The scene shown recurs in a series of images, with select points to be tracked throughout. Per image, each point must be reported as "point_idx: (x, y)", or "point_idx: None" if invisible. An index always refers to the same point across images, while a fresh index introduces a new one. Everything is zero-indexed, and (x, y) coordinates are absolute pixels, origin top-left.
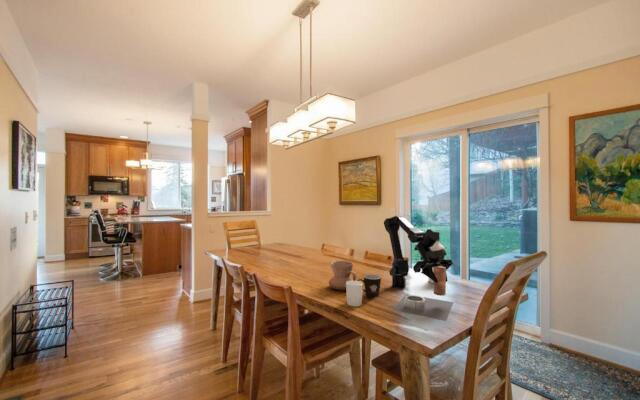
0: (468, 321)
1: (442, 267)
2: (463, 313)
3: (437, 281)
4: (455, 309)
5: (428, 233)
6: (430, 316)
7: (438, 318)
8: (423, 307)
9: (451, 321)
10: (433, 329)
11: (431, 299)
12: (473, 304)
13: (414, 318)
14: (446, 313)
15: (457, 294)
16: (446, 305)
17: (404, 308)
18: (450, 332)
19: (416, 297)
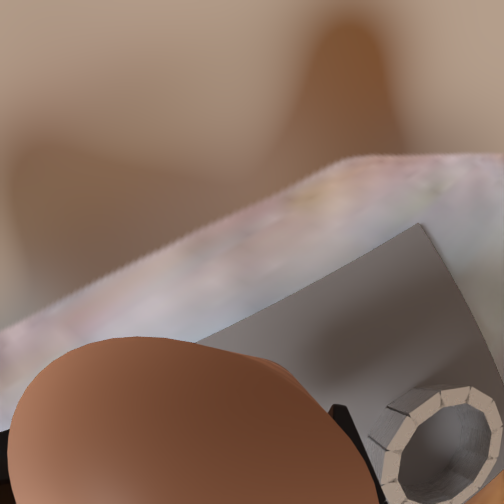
0: (294, 186)
1: (85, 472)
2: (214, 259)
3: (337, 405)
4: (194, 322)
5: None
6: (451, 299)
7: (433, 259)
8: (427, 387)
9: (374, 227)
10: (494, 219)
11: None
12: (53, 305)
13: (498, 342)
14: (340, 284)
15: (3, 424)
16: None
17: None
18: (454, 169)
19: (400, 487)
